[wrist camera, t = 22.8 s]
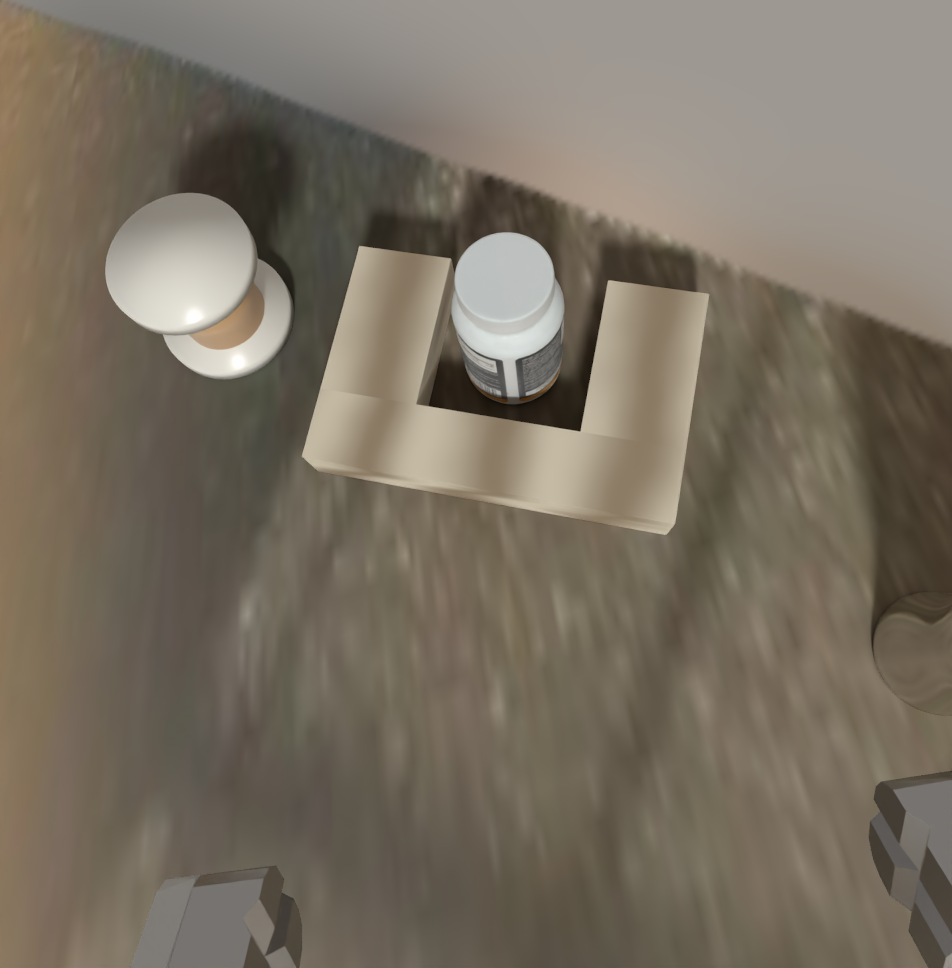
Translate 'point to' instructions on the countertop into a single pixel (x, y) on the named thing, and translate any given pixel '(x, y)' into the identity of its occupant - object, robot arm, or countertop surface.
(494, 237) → the pill bottle
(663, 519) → the notched board
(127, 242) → the spool
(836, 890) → the countertop surface
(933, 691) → the beer glass
